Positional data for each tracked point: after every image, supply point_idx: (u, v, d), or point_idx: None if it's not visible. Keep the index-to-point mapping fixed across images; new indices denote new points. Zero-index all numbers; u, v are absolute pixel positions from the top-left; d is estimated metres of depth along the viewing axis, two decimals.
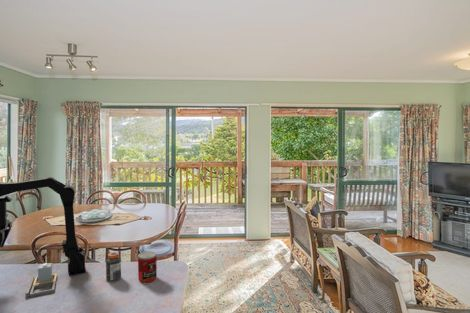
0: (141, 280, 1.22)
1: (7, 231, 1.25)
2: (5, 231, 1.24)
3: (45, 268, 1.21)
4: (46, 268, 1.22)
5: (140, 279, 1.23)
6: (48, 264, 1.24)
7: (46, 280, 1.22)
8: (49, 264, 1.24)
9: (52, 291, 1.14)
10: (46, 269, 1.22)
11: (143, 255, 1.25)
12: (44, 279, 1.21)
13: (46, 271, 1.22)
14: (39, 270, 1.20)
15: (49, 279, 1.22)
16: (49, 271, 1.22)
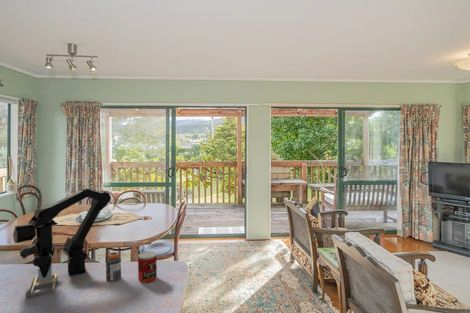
0: (141, 280, 1.22)
1: (52, 253, 1.29)
2: (50, 253, 1.28)
3: None
4: None
5: (140, 279, 1.23)
6: None
7: (46, 280, 1.22)
8: None
9: (52, 291, 1.14)
10: None
11: (143, 255, 1.25)
12: (44, 279, 1.21)
13: None
14: (39, 270, 1.20)
15: (49, 279, 1.22)
16: (49, 271, 1.22)
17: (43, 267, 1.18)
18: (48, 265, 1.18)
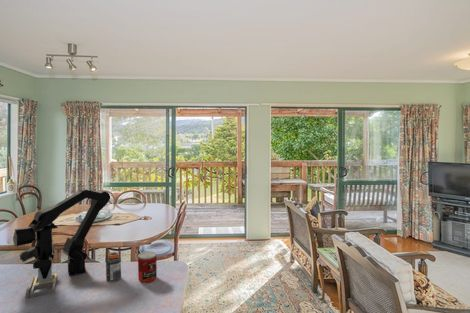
0: (141, 280, 1.22)
1: (51, 258, 1.27)
2: None
3: None
4: None
5: (140, 279, 1.23)
6: None
7: (46, 280, 1.22)
8: None
9: (52, 291, 1.14)
10: None
11: (143, 255, 1.25)
12: (44, 279, 1.21)
13: None
14: (39, 270, 1.20)
15: (49, 279, 1.22)
16: (49, 271, 1.22)
17: (43, 268, 1.20)
18: (48, 266, 1.20)
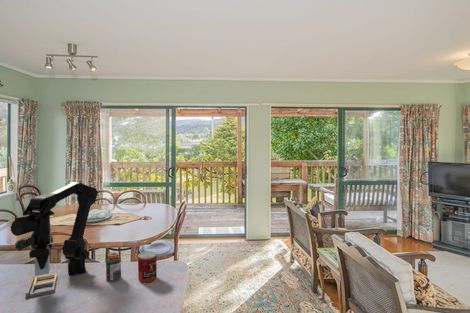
0: (141, 280, 1.22)
1: None
2: None
3: None
4: None
5: (140, 279, 1.23)
6: None
7: (43, 270, 1.14)
8: None
9: (52, 291, 1.14)
10: None
11: (143, 255, 1.25)
12: (41, 269, 1.14)
13: None
14: (36, 260, 1.13)
15: (46, 269, 1.15)
16: None
17: (40, 258, 1.12)
18: (46, 256, 1.13)
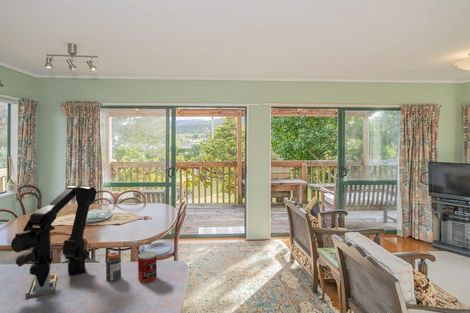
0: (141, 280, 1.22)
1: (50, 260, 1.21)
2: (48, 260, 1.21)
3: None
4: None
5: (140, 279, 1.23)
6: None
7: (44, 289, 1.14)
8: None
9: (52, 291, 1.14)
10: None
11: (143, 255, 1.25)
12: (41, 287, 1.14)
13: None
14: (36, 278, 1.13)
15: (47, 288, 1.15)
16: (47, 279, 1.15)
17: (40, 276, 1.11)
18: (46, 274, 1.11)
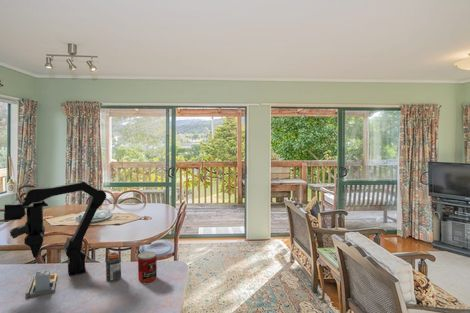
0: (141, 280, 1.22)
1: None
2: None
3: (43, 276, 1.14)
4: (44, 275, 1.14)
5: (140, 279, 1.23)
6: (46, 272, 1.17)
7: (44, 289, 1.14)
8: (47, 272, 1.17)
9: (52, 291, 1.14)
10: (44, 277, 1.14)
11: (143, 255, 1.25)
12: (41, 287, 1.14)
13: (44, 279, 1.14)
14: (36, 278, 1.13)
15: (47, 288, 1.15)
16: (47, 279, 1.15)
17: (34, 247, 1.18)
18: (39, 245, 1.18)
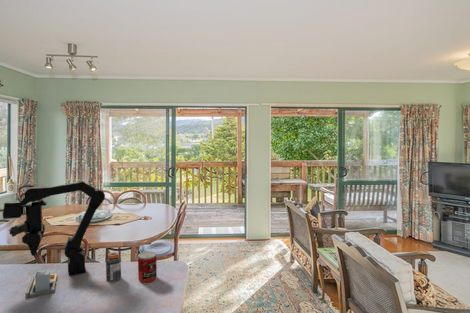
0: (141, 280, 1.22)
1: (41, 233, 1.31)
2: None
3: (43, 276, 1.14)
4: (44, 275, 1.14)
5: (140, 279, 1.23)
6: (46, 272, 1.17)
7: (44, 289, 1.14)
8: (47, 272, 1.17)
9: (52, 291, 1.14)
10: (44, 277, 1.14)
11: (143, 255, 1.25)
12: (41, 287, 1.14)
13: (44, 279, 1.14)
14: (36, 278, 1.13)
15: (47, 288, 1.15)
16: (47, 279, 1.15)
17: (32, 245, 1.20)
18: (37, 243, 1.20)
